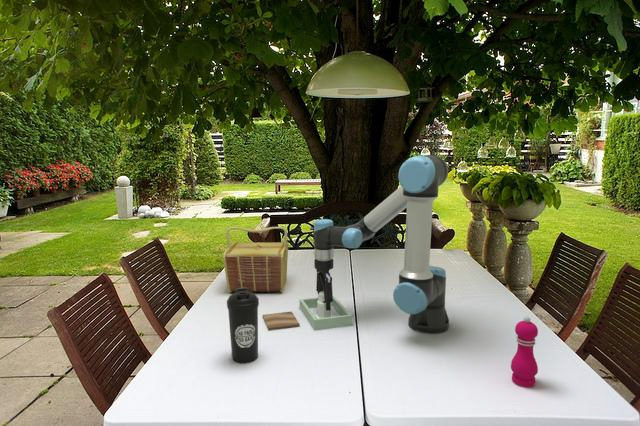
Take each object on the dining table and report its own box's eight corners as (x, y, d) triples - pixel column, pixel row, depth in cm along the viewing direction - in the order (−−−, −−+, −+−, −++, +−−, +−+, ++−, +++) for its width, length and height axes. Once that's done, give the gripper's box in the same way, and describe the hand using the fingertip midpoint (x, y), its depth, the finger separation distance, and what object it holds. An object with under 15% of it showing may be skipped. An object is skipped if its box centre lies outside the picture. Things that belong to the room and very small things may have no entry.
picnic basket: (222, 296, 213) (219, 232, 208) (234, 279, 238) (231, 222, 233) (286, 296, 212) (284, 232, 207) (291, 279, 237) (289, 221, 232)
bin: (352, 325, 178) (352, 315, 177) (314, 330, 174) (314, 320, 173) (333, 304, 201) (333, 295, 200) (299, 308, 197) (299, 299, 196)
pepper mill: (529, 375, 139) (533, 311, 136) (541, 388, 132) (546, 321, 129) (505, 375, 139) (509, 312, 136) (516, 388, 132) (520, 321, 129)
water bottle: (230, 366, 147) (227, 297, 144) (228, 352, 157) (225, 287, 153) (262, 362, 150) (260, 293, 146) (258, 348, 160) (255, 284, 156)
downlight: (312, 314, 190) (312, 291, 188) (328, 311, 192) (328, 288, 190) (320, 322, 183) (320, 298, 181) (336, 319, 185) (336, 295, 183)
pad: (299, 326, 178) (299, 324, 177) (268, 330, 174) (268, 328, 174) (291, 313, 191) (291, 311, 191) (262, 317, 188) (262, 314, 188)
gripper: (308, 253, 192) (309, 305, 196) (322, 266, 173) (322, 324, 176) (325, 251, 194) (326, 303, 198) (341, 264, 175) (341, 322, 178)
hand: (324, 313), depth 187 cm, fingers closed on downlight, 8 cm apart
